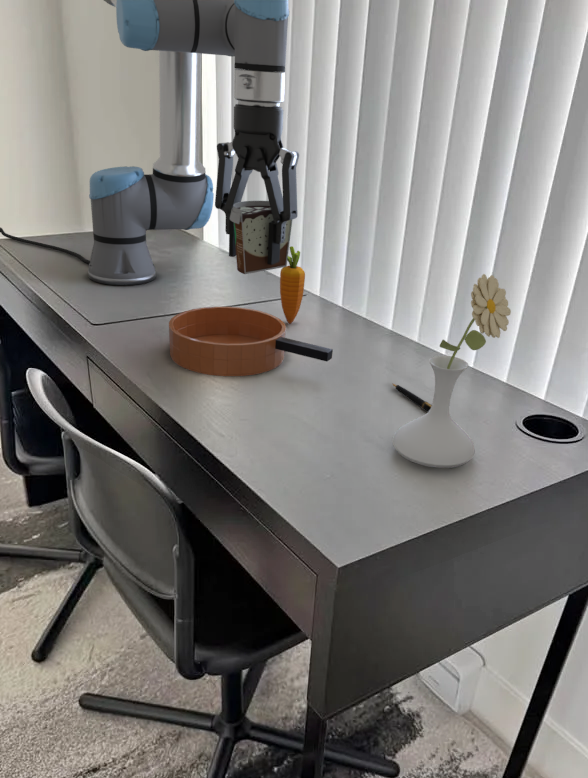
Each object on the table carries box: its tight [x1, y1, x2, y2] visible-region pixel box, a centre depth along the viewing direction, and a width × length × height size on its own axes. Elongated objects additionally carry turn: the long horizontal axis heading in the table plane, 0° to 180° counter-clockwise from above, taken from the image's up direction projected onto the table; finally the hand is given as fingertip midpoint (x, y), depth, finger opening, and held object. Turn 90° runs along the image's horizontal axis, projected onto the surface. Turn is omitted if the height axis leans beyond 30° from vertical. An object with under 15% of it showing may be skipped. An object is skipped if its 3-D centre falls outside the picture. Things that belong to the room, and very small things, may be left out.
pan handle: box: [275, 337, 334, 362], centre depth 118 cm, size 10×2×2 cm, turn 62°
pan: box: [168, 306, 287, 377], centre depth 125 cm, size 20×20×6 cm
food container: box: [230, 200, 293, 275], centre depth 116 cm, size 12×6×10 cm, turn 134°
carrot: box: [279, 246, 306, 324], centre depth 139 cm, size 5×5×15 cm
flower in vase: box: [391, 273, 512, 469], centre depth 92 cm, size 13×11×25 cm
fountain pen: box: [391, 382, 432, 413], centre depth 112 cm, size 14×1×2 cm, turn 28°
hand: (254, 258), depth 118 cm, fingers closed on food container, 7 cm apart
